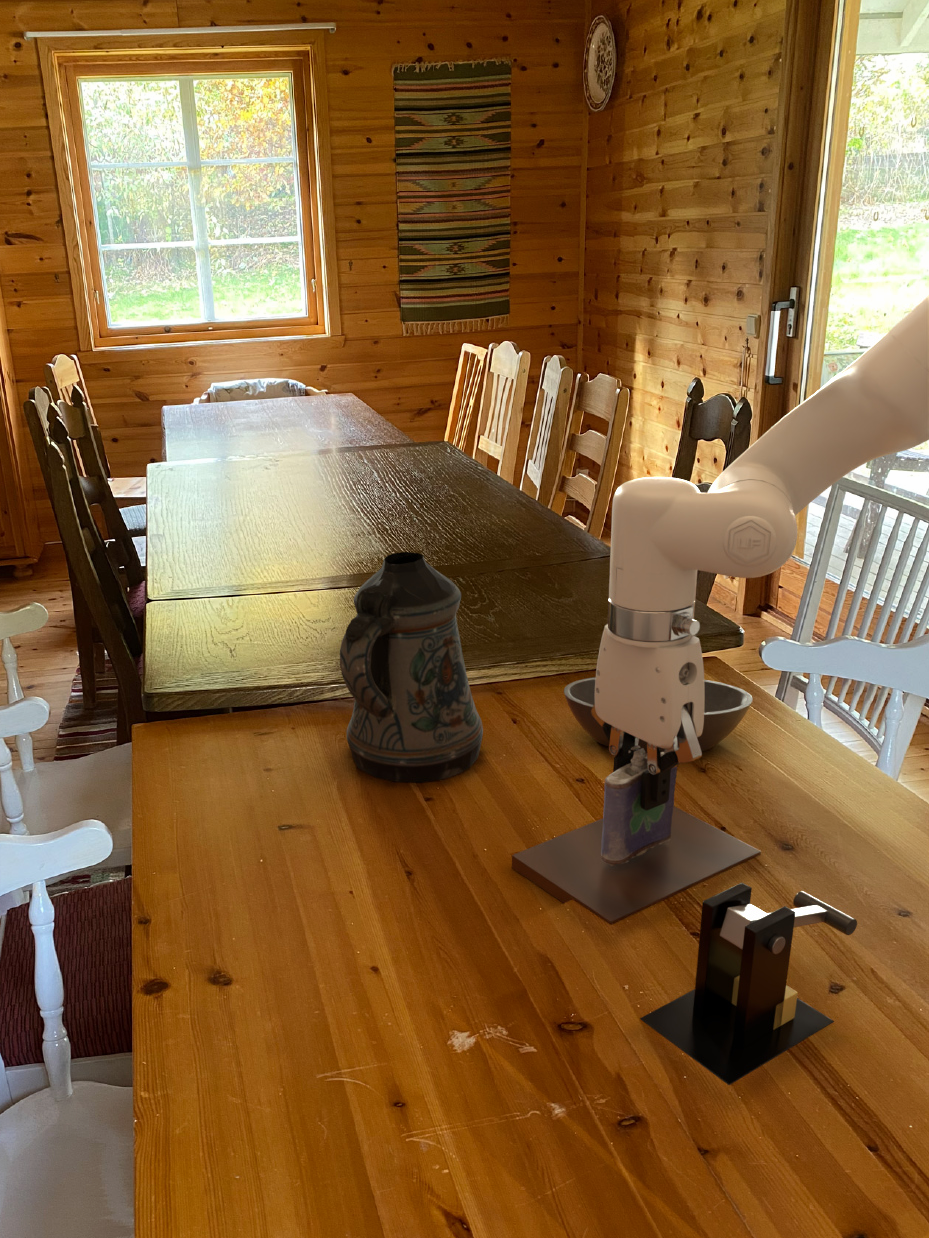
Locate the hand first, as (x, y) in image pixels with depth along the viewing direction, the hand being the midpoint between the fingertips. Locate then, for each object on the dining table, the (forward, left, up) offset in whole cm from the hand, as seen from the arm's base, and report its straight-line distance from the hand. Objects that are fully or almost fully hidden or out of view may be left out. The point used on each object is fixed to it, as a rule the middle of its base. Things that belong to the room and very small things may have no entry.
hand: (640, 796), depth 106 cm
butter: (+9, +22, -7) cm, 24 cm away
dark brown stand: (+11, +22, -8) cm, 26 cm away
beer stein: (+4, -33, -8) cm, 34 cm away
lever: (+7, +22, 0) cm, 23 cm away
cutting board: (0, 0, -8) cm, 8 cm away
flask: (0, 0, -6) cm, 6 cm away
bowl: (-22, -19, -8) cm, 30 cm away
